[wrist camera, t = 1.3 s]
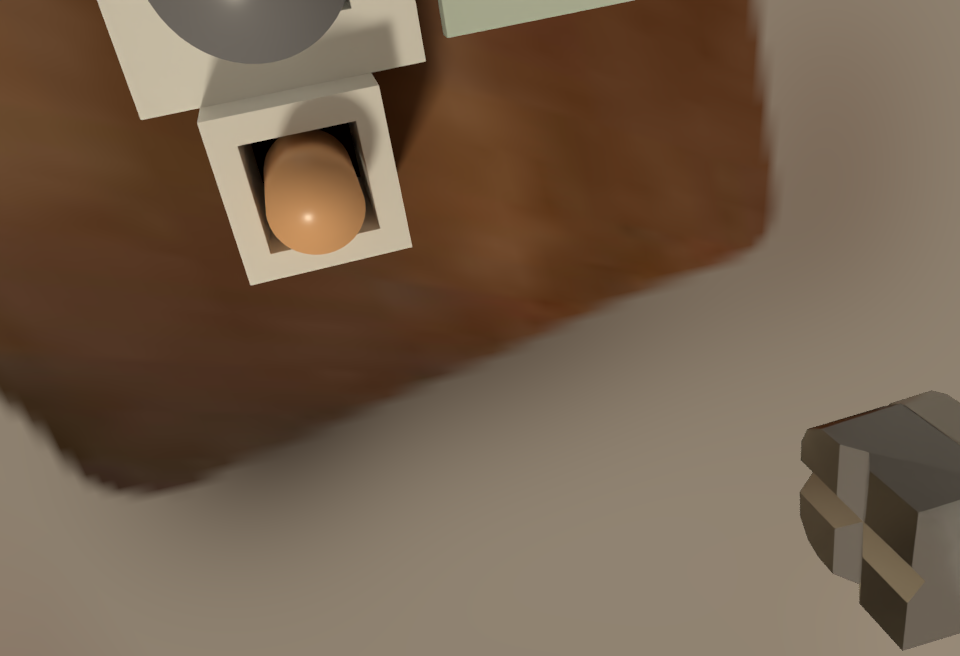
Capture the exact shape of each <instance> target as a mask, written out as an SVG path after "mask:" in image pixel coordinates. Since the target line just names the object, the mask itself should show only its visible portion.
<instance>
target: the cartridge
mask: <svg viewBox="0 0 960 656" xmlns="http://www.w3.org/2000/svg"><path fill="white" fill-rule="evenodd" d="M148 1H149V3H150V4H151V6H152V7H153V8H154V10H155V11H156V13H157V14H158V15H159V17H160V18H161V19H162V20H163V21H164V22H165V23H166V24H167V26H168V27H169V28H171V29H172V30H173V31H174V32H175V33H176V34H177V35H178V36H179V37H181V38H182V39H184V40H185V41H186V42H188V43H189V44H191V45H192V46H194V47H196V48H197V49H199V50H201V51H203V52H205V53H207V54H209V55H212V56H214V57H217V58H220V59H223V60H227V61H231V62H237V63H244V64H263V63H271V62H276V61H280V60H283V59H287V58H289V57H292V56H294V55H296V54H299V53H300V52H302V51H304V50H305V49H307V48H309V47H310V46H311V45H313V44H314V43H315V42H316V41H318V40H319V39H320V38H321V37H322V36H323V35H324V34H325V33H326V32H327V31H328V29H329V28H330V27H331V25H332V24H333V23H334V21H335V20H336V18H337V17H338V15H339V13H340V11H341V9H342V7H343V5H344V2H345V0H148Z"/></svg>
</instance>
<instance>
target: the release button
mask: <svg viewBox="0 0 960 656" xmlns="http://www.w3.org/2000/svg"><path fill="white" fill-rule="evenodd" d="M263 171H264V189H265V207H266V216H267V221H268V223H269V226H270V228H271V230H272V232H273V233H274V234H275V236H276V237H277V238H278V239H279V240H280V241H281V242H282V243H283V244H285V245H286V246H287V247H289V248H291V249H293V250H295V251H297V252H301V253H304V254H311V255H321V254H327V253H331V252H334V251H337V250H339V249H341V248H342V247H344V246H346V245H347V244H348V243H350V242H351V241H352V240H353V239H354V238H355V236H356V235H357V234H358V232H359V231H360V229H361V227H362V224H363V222H364V218H365V211H366V207H365V199H364V195H363V192H362V189H361V187H360V184H359V181H358V178H357V176H356V173H355V170H354V167H353V165H352V162H351V159H350V157H349V154H348V152H347V150H346V149H345V147H344V146H343V145H342V144H341V142H340V141H338V140H337V139H336V138H335V137H333V136H332V135H330V134H329V133H327V132H324V131H322V130H318V129H315V130H311V131H306V132H301V133H297V134H292V135H287V136H283V137H279V138H278V139H277V140H276V141H275V142H274V143H273V144H272V145H271V147H270V148H269V150H268V152H267V154H266V157H265V161H264V169H263Z"/></svg>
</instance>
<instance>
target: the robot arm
mask: <svg viewBox="0 0 960 656" xmlns="http://www.w3.org/2000/svg"><path fill="white" fill-rule="evenodd" d="M801 461H802V462H803V463H804V464H805V465H806V466H807V467H808V468H809V469H810V470H811V471H812V472H813V473H812V474H811V476H810V477H809V479H808V480H807V482H806V483H805V485H804V487H803V488H802V489H801V491H800V517H801V520H802V523H803V526H804V529H805V532H806V535H807V538H808V541H809V542H810V544H811V546H812V547H813V549H814V551H815V552H816V554H817V556H818V557H819V558H820V560H821V561H822V562H823V563H824V564H825V565H826V566H827V567H828V569H829V570H830V571H831V572H832V573H833V574H835V575H837V576H840V577H843V578H845V579H848V580H850V581H853V582H855V583H857V584H859V603H860V605H861V606H862V607H863V608H864V609H865V610H866V611H867V612H868V613H869V614H870V616H871V617H872V618H873V619H874V620H875V621H876V622H877V623H878V624H879V625H880V627H882V629H883V630H884V631H885V632H886V633H887V634H888V635H889V636H890V638H891V639H892V640H893V641H894V642H895V643H896V644H897V645H898V646H899V647H900V649H902V651H903V650H906V649H910V648H913V647H916V646H919V645H923V644H926V643H929V642H933V641H936V640H939V639H943V638H946V637H949V636H952V635H956V634H959V633H960V403H959V402H958V401H956V400H955V399H953V398H952V397H950V396H949V395H947V394H944V393H940V392H936V391H929V392H925V393H922V394H919V395H916V396H912V397H909V398H907V399H903V400H900V401H897V402H893V403H891V404H889V405H888V406H883V407H880V408H876V409H873V410H870V411H866V412H863V413H860V414H856V415H853V416H850V417H847V418H843V419H839V420H836V421H833V422H829V423H827V424H823V425H820V426H816V427H813V428H809V429H807V431H806V433H805V435H804V437H803V439H802V442H801Z"/></svg>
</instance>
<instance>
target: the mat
mask: <svg viewBox="0 0 960 656" xmlns="http://www.w3.org/2000/svg"><path fill="white" fill-rule="evenodd" d="M628 1H633V0H438V4H439V10H440V16H441V23H442V29H443V35H445V36H446V37H447V38H450V37H455V36H460V35H465V34H470V33H475V32H480V31H485V30H490V29H495V28H500V27H504V26H509V25H514V24H519V23H524V22H529V21H534V20H539V19H544V18H549V17H554V16H559V15H564V14H569V13H574V12H579V11H584V10H588V9H593V8H598V7H603V6H608V5H613V4H618V3H623V2H628Z"/></svg>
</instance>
